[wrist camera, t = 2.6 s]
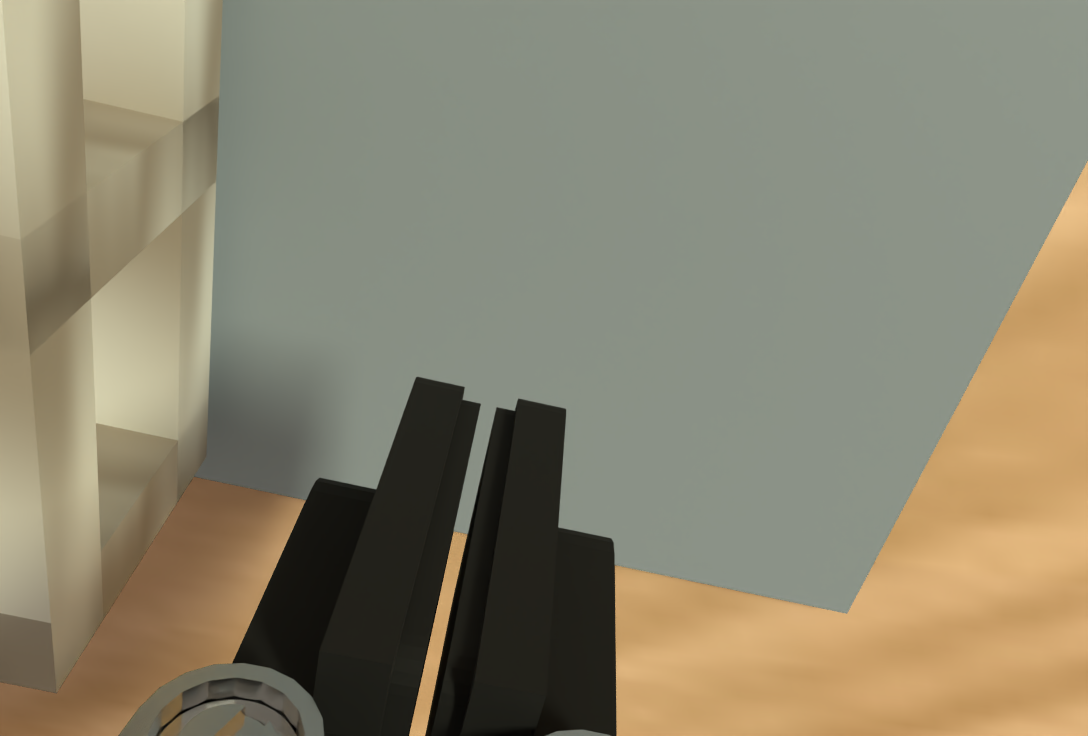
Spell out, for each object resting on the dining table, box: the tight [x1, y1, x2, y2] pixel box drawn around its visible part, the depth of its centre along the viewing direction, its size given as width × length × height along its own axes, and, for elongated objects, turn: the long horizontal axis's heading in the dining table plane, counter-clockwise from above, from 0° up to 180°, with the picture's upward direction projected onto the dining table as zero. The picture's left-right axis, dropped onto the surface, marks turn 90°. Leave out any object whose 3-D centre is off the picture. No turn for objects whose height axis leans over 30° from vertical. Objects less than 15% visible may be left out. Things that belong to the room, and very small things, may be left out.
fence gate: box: [0, 0, 223, 693], centre depth 11 cm, size 11×1×5 cm, turn 168°
